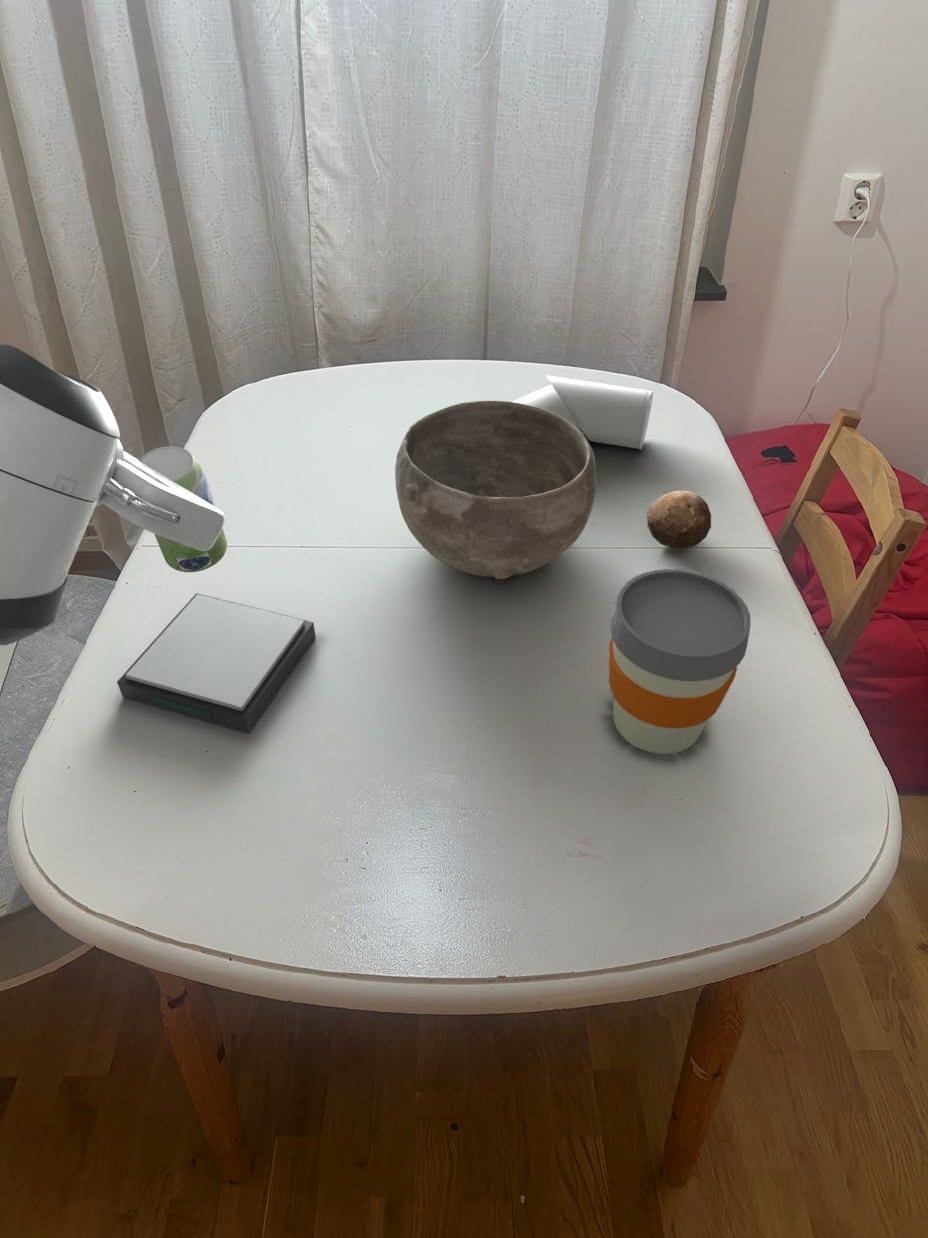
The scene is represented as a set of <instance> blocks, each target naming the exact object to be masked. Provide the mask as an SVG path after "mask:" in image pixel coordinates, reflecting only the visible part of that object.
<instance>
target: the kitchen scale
mask: <svg viewBox="0 0 928 1238" xmlns="http://www.w3.org/2000/svg"><path fill="white" fill-rule="evenodd" d="M315 629H316V628H315V624H314V621H312V620H306V619H304V618H303V619H302V618H298V617H294V616H291V615H287V614H283V613H278V612H275V611H271V610H266V609H262V608H259V607H254V606H250V605H246V604H242V603H238V602H233V601H230V600H226V599H222V598H217V597H214V596H209V595H206V594H201V593H199V592H196V593H195V594H194V595H193V596H192V597H191V598H190V600H189V601H188V602H187V603H186V604H185V605H183V607H182V608H181V610H179V612H178V613H177V614H176V615H175V616H174V617H173V618H172V619H171V621H170V622H169V623H168V624H167V625H166V627H164V628H163V630H162V631H161V632H160V633H159V634H158V635H157V636H156V637H155V638H154V640H153V641H152V642H151V643H150V644H149V645H148V647H147V648H145V650H144V651H143V652H142V653H141V654H140V656H138V658H137V659H136V660H135V661H134V662H133V663H132V664H131V665H130V667H128V669H127V670H126V671H125V672H124V673H123V674H122V676H120V678H119V679H118V680H117V681H116V683H117V686H118V689H119V691H120V694H121V697H122V698H123V699H126V700H130V701H134V702H137V703H140V704H144V705H148V706H151V707H154V708H158V709H161V710H164V711H168V712H171V713H175V714H178V715H183V716H186V717H188V718H192V719H196V720H199V721H202V722H206V723H209V724H214V725H216V726H220V727H224V728H228V729H230V730H234V731H238V732H241V733H245V734H248V735H249V734H251V732H252V731H253V729H254V727H255V726H256V725H257V723H258V722H259V720H260V719H261V718H262V716H263V715H264V713H265V712H266V710H267V709H268V707H269V706H270V705H271V703H273V702H272V701H273V700H274V699H275V698H276V696H277V694H278V693H279V692H280V690H281V689H282V687H283V686H284V684H285V683H286V681H288V679H289V677H290V676H291V674H292V673H293V671H294V670H295V669H296V667H297V666H298V665H299V663H300V661H301V660H302V658H303V657H304V656H305V654H306V653H307V652H308V650H309V648H310V647H311V645H312V644H313V643H314V641H315V640H316V638H317V636H316V630H315Z"/></svg>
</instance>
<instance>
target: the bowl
mask: <svg viewBox="0 0 928 1238" xmlns="http://www.w3.org/2000/svg"><path fill="white" fill-rule="evenodd" d="M395 459H396V461H395V466H394V474H395V475H394V479H395V480H394V481H395V490H396V495H397V501H398V505H399V510H400V513H401V515H402V518H403V520H404V522H405V525H406V526H407V528H408V530H409V532H410V533H411V534H412V536H413V537H414V538H415V540H416V541H417V542H418V543H419V544H420V545H421V546H422V547H423V549H425V550H426V552H428V553H429V554H430V555H431V556H433V557H434V558H435V559H437V560H438V561H440V562H442V563H443V564H445V565H446V566H449V567H450V568H452V569H456V570H459V571H461V572H464V573H466V574H470V575H473V576H479V577H491V578H493V577H494V578H495V579H498V580H506V579H508V578H510V577H512V576H517V575H518V576H519V575H522V574H527V573H529V572H533V571H535V570H539V569H540V568H543V567H545V566H546V565H548V564H550V563H553V562H554V561H555V560H556V559H558V558H559V557H560V556H561V555H562V554H563V553H564V552H565V551H567V550H568V549H569V548H570V547H571V546H572V545H573V544H574V543H575V542H576V541H577V540H578V539H579V537H580V536H581V534H582V532H583V531H584V530H585V528H586V525H587V524H588V520H589V518H590V515H591V513H592V509H593V505H594V502H595V496H596V489H597V464H596V463H597V462H596V459H595V455H594V452H593V448H592V446H591V444H590V443H589V440H588V438H587V437H586V435H585V434H584V433H581V432H580V431H579V430H578V429H577V428H576V427H575V426H574V425H572V424H571V423H570V422H568V421H567V420H565V419H563V418H562V417H560V416H558V415H556V414H554V413H552V412H550V411H547V410H543V409H540V408H537V407H533V406H530V405H525V404H521V403H516V402H513V401H506V400H474V401H465V402H460V403H457V404H453V405H450V406H447V407H445V408H441V409H439V410H436V411H434V412H432V413H430V414H427V415H425V416H423V417H422V418H420V419H418V420H417V421H415V422H414V423H413V424H411V426H410V427H409V428H408V429H407V431H406V433H405V434H404V436H403V439H402V441H401V443H400V446H399V448H398V451H397V454H396V458H395Z"/></svg>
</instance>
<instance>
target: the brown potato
mask: <svg viewBox="0 0 928 1238" xmlns="http://www.w3.org/2000/svg"><path fill="white" fill-rule="evenodd" d="M646 520H647V525H646V526H647V528H648V530H649V532H650V534H651V537H652V538H653V539H654V540H656V541H657V542H658V543H659V544H660V545H661V546H665V547H667V548H670V549H687V548H693V547H696V546H698V545H699V544H700V543H701V542H702V541H704V540H705V539H706V538H707V536H708V534H709V533H710V530H711V528H712V513H711V510H710V507H709V505H708V503H707V501H705V499H703V497H702V496H701V495H700V494H697V493H695V492H692V491H689V490H675V491H672V492H668V493H665V494H663V495H661V496H660V497H658V498H657V499H656V500H654V501H653V502H652V503H651V506H650V507H649V509H648V510H647V512H646Z"/></svg>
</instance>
